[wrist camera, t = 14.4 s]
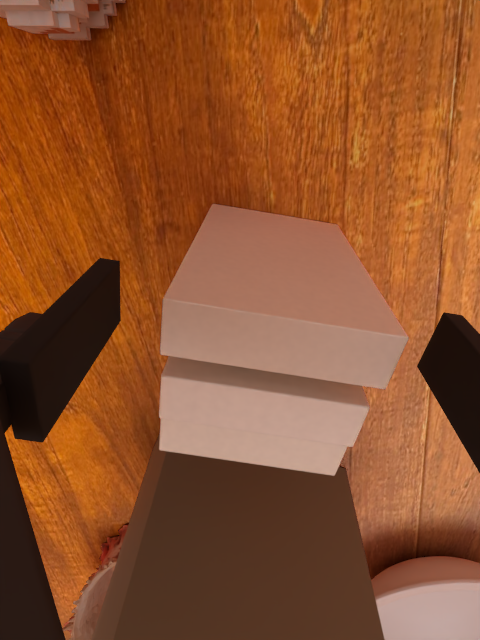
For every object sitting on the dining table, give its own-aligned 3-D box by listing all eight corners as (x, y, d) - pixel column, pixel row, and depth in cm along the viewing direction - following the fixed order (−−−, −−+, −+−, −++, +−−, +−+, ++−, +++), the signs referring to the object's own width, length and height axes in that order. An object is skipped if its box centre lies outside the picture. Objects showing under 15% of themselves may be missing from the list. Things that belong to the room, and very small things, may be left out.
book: (147, 459, 40) (9, 879, 18) (171, 407, 36) (31, 861, 14) (307, 512, 43) (351, 926, 21) (345, 468, 39) (448, 922, 17)
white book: (212, 203, 26) (162, 298, 13) (338, 224, 27) (409, 337, 14) (208, 237, 28) (159, 355, 15) (328, 257, 28) (385, 390, 15)
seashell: (172, 587, 56) (238, 555, 50) (157, 686, 48) (235, 662, 41) (69, 549, 50) (130, 506, 44) (30, 654, 41) (99, 620, 35)
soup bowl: (560, 585, 48) (600, 650, 42) (394, 635, 57) (409, 694, 51) (468, 491, 40) (503, 556, 34) (292, 566, 49) (296, 627, 43)
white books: (206, 255, 28) (160, 375, 16) (323, 274, 28) (371, 407, 16) (198, 325, 31) (155, 473, 19) (303, 342, 32) (331, 498, 19)
